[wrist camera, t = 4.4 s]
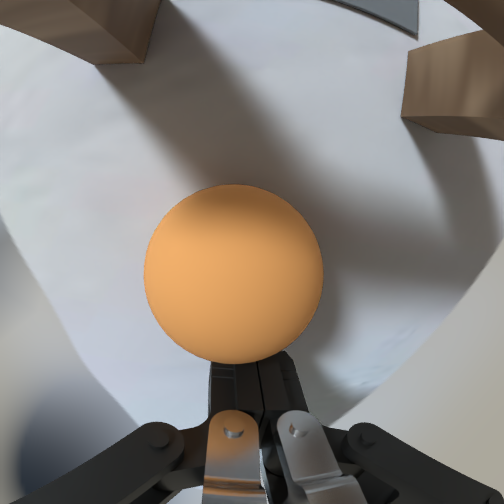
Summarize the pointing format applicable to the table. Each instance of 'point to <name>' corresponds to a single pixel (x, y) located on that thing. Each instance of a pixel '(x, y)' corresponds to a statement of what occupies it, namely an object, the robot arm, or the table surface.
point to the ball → (233, 274)
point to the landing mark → (390, 11)
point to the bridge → (418, 65)
